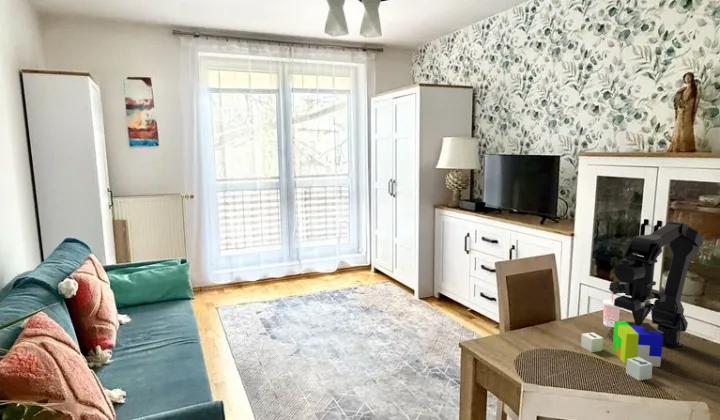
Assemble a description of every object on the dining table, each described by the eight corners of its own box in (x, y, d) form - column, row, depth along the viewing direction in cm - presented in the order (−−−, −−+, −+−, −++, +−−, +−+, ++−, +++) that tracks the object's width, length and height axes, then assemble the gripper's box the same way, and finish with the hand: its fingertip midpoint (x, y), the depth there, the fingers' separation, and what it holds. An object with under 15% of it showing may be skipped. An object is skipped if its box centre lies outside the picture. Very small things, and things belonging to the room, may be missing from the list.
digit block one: (592, 344, 146) (592, 331, 146) (602, 350, 142) (603, 337, 141) (580, 346, 145) (581, 333, 144) (591, 352, 141) (592, 338, 140)
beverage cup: (619, 329, 158) (622, 293, 156) (600, 325, 161) (603, 290, 159) (619, 323, 163) (622, 288, 161) (601, 320, 166) (604, 285, 164)
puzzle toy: (660, 367, 131) (663, 336, 130) (624, 364, 133) (626, 333, 132) (645, 351, 141) (648, 323, 139) (612, 349, 143) (614, 320, 141)
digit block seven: (637, 370, 129) (639, 356, 128) (651, 378, 125) (652, 363, 124) (625, 373, 128) (626, 358, 127) (638, 380, 124) (640, 365, 123)
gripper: (632, 267, 145) (628, 311, 147) (599, 275, 136) (595, 322, 138) (668, 275, 135) (664, 322, 137) (635, 284, 126) (631, 335, 128)
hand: (637, 325), depth 135 cm, fingers closed
